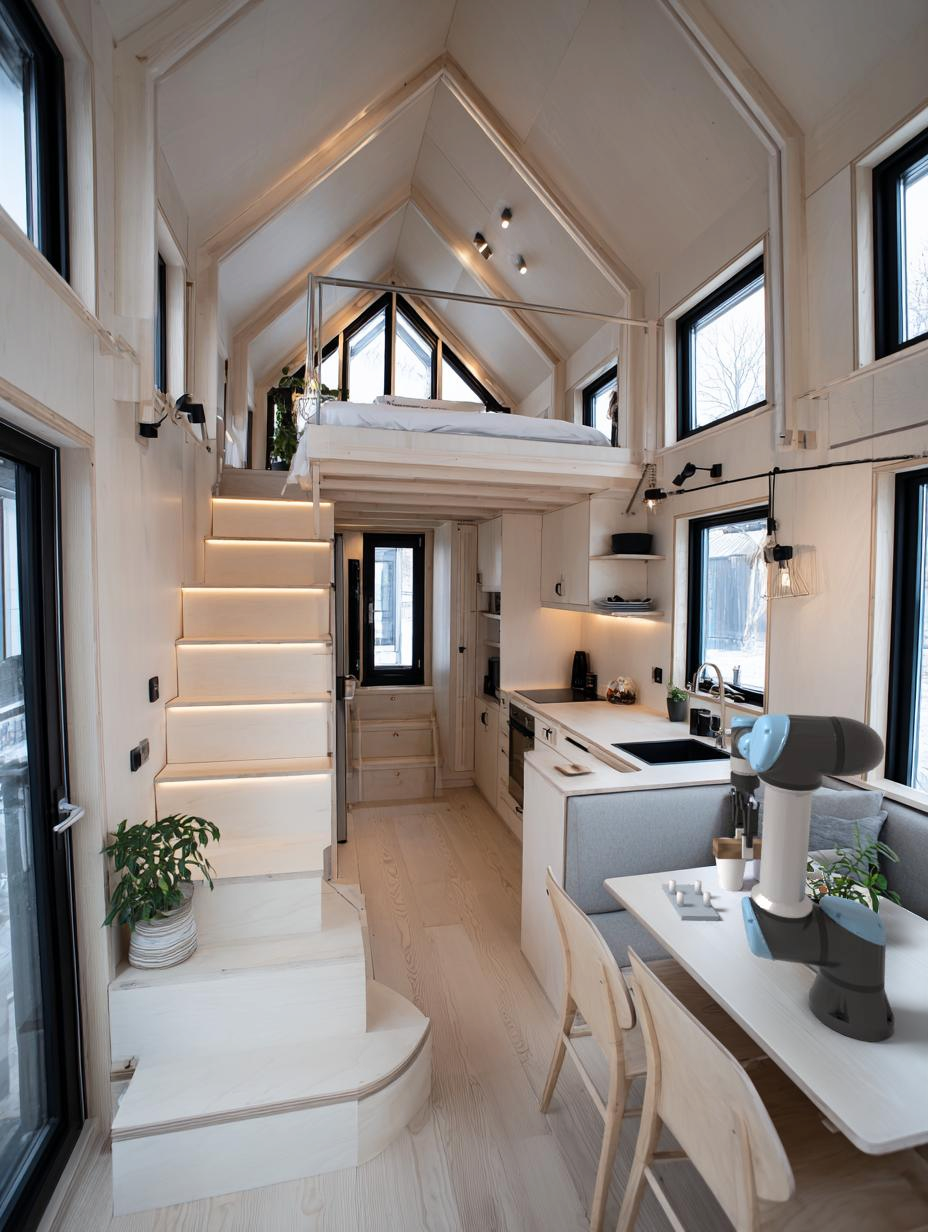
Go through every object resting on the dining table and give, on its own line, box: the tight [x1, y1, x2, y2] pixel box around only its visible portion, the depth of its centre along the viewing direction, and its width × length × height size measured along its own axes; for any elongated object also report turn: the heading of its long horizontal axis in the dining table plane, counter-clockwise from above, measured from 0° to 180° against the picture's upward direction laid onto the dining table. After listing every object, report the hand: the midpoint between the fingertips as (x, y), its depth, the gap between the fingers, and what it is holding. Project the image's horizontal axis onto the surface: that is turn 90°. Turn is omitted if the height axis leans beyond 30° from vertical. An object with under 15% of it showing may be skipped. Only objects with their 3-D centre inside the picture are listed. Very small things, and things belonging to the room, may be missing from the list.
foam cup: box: [715, 857, 747, 892], centre depth 184 cm, size 10×9×13 cm
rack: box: [661, 879, 720, 922], centre depth 174 cm, size 18×10×5 cm, turn 178°
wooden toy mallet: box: [712, 837, 762, 860], centre depth 170 cm, size 18×6×4 cm, turn 88°
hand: (744, 854), depth 170 cm, fingers closed on wooden toy mallet, 4 cm apart
